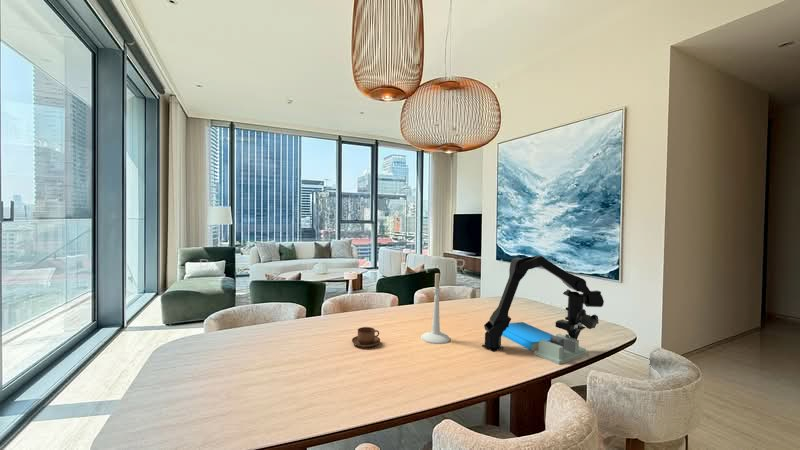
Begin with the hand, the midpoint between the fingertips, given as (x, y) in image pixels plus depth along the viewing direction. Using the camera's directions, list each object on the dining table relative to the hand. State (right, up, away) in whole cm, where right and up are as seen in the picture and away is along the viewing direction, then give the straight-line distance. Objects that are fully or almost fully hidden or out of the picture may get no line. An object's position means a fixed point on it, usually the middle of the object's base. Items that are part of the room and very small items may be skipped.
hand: (573, 342), depth 143 cm
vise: (-8, -3, -5) cm, 10 cm away
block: (-10, -2, -6) cm, 12 cm away
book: (-16, -3, +13) cm, 20 cm away
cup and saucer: (-88, -1, +1) cm, 88 cm away
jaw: (-5, -2, -3) cm, 6 cm away
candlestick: (-58, -2, +9) cm, 59 cm away
